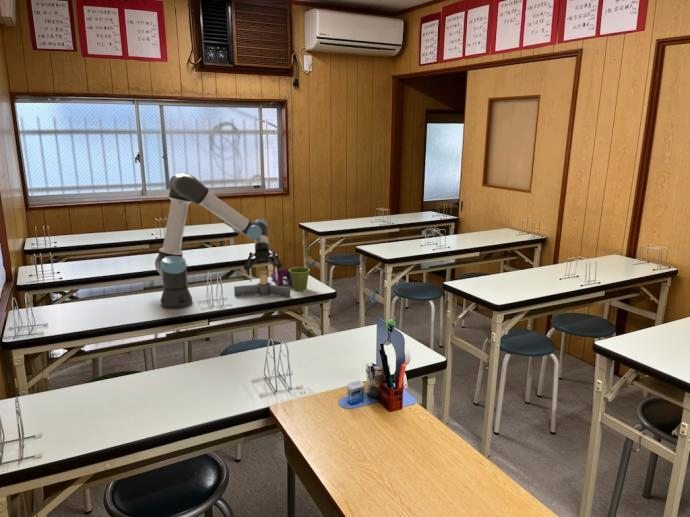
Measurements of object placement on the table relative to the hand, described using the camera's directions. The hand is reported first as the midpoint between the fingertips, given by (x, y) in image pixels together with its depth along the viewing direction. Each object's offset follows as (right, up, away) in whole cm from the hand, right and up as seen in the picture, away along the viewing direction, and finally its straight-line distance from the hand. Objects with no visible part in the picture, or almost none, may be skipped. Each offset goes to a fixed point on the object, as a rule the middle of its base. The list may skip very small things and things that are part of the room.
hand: (263, 279), depth 263 cm
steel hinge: (-1, -8, +3) cm, 8 cm away
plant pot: (+18, -6, +11) cm, 22 cm away
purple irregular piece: (+6, -3, +24) cm, 25 cm away
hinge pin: (-1, -7, +4) cm, 9 cm away
